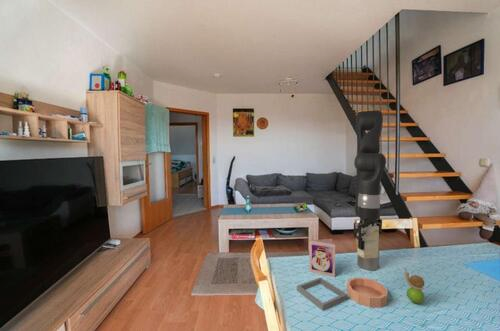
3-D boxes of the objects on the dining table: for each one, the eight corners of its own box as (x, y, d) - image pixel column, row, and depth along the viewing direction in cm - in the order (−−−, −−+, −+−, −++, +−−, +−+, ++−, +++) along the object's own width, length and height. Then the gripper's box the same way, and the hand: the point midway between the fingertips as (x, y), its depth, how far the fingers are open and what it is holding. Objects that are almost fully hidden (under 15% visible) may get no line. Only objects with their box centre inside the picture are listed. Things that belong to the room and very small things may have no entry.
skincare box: (363, 259, 89) (364, 227, 89) (356, 253, 94) (357, 223, 93) (378, 257, 90) (379, 226, 89) (371, 252, 95) (372, 222, 94)
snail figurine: (404, 295, 93) (405, 265, 92) (424, 301, 89) (425, 270, 88) (402, 301, 89) (403, 270, 88) (423, 309, 85) (425, 276, 84)
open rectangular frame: (320, 281, 103) (320, 277, 103) (347, 299, 91) (347, 294, 90) (297, 290, 97) (297, 285, 97) (322, 310, 84) (322, 305, 84)
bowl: (362, 282, 102) (362, 274, 102) (395, 299, 90) (395, 291, 90) (339, 291, 96) (339, 283, 95) (371, 312, 83) (372, 302, 83)
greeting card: (308, 272, 111) (309, 241, 110) (312, 265, 118) (312, 235, 117) (334, 278, 106) (335, 245, 105) (336, 270, 113) (336, 239, 112)
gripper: (371, 201, 97) (370, 240, 98) (347, 205, 91) (346, 247, 92) (389, 205, 91) (388, 247, 92) (365, 209, 84) (364, 255, 85)
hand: (367, 247), depth 92 cm, fingers closed on skincare box, 7 cm apart
